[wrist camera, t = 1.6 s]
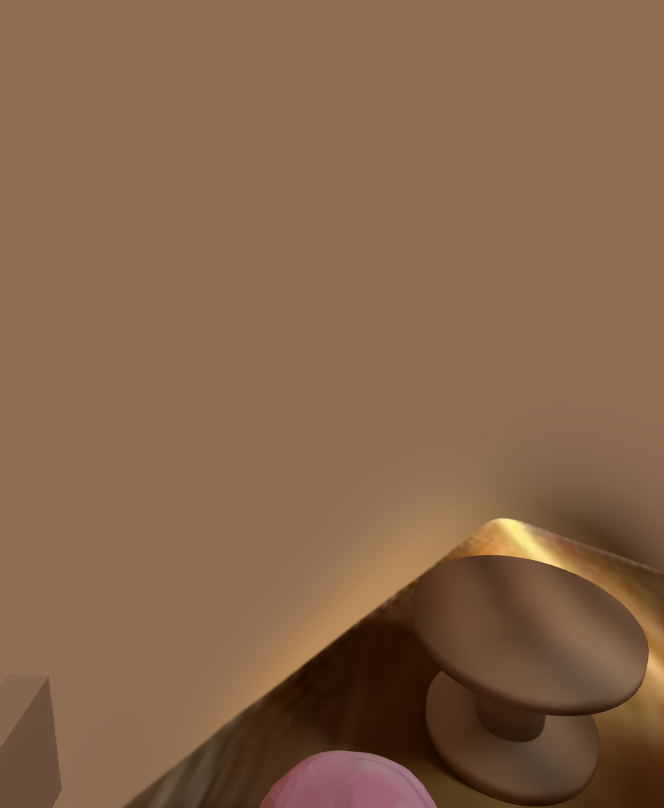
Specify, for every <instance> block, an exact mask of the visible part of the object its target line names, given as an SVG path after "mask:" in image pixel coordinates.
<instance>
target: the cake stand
mask: <svg viewBox="0 0 664 808" xmlns="http://www.w3.org/2000/svg"><path fill="white" fill-rule="evenodd" d="M411 623H412V628H413V632H414V634H415V637H416V639H417V641H418V643H419V645H420V646H421V648H422V649H423V651H424V652H425V653H426V655H427V656H428V657H429V658H430V660H431V661H432V662H433V663H434V664H435V665H436V666H437V667H438V668H439V669H441V670H442V671H441V672H439V673H438V674H437V676H436V677H435V678H434V679H433V681H432V683H431V685H430V687H429V690H428V693H427V699H426V709H425V724H426V730H427V733H428V736H429V739H430V742H431V744H432V745H433V747H434V749H435V751H436V752H437V754H438V755H439V757H440V758H441V760H442V761H443V762H444V763H445V764H446V765H447V767H448V768H449V769H450V770H451V771H453V772H454V773H455V774H456V775H457V776H458V777H459V778H461V779H462V780H463V781H465V782H466V783H467V784H469V785H470V786H472V787H474V788H475V789H477V790H479V791H481V792H483V793H485V794H487V795H489V796H491V797H494V798H496V799H499V800H502V801H505V802H509V803H513V804H518V805H525V806H547V805H554V804H558V803H562V802H565V801H567V800H569V799H571V798H573V797H575V796H576V795H578V794H579V793H581V792H582V791H583V790H584V789H585V788H586V787H587V785H588V784H589V782H590V781H591V779H592V777H593V774H594V771H595V767H596V762H597V757H598V751H599V737H598V732H597V728H596V726H595V723H594V720H593V719H592V717H591V714H596V713H600V712H605V711H607V710H610V709H612V708H615V707H618V706H619V705H621V704H623V703H624V702H626V701H628V700H629V699H630V698H631V697H632V696H633V695H634V694H635V693H636V692H637V691H638V689H639V688H640V686H641V685H642V682H643V679H644V676H645V672H646V668H647V663H648V655H649V649H648V643H647V639H646V637H645V634H644V631H643V630H642V628H641V626H640V625H639V623H638V621H637V620H636V619H635V617H634V616H633V615H632V614H631V612H630V611H629V610H628V609H627V608H626V607H625V606H624V605H623V604H622V603H620V602H619V601H618V600H617V599H616V598H614V597H613V596H612V595H610V594H609V593H608V592H606V591H605V590H603V589H602V588H600V587H599V586H597V585H595V584H594V583H592V582H590V581H588V580H586V579H584V578H582V577H580V576H578V575H576V574H574V573H571V572H569V571H567V570H564V569H561V568H558V567H555V566H553V565H549V564H546V563H542V562H539V561H534V560H530V559H525V558H518V557H511V556H500V555H482V556H470V557H464V558H459V559H454V560H451V561H448V562H445V563H443V564H441V565H439V566H437V567H435V568H433V569H432V570H430V571H429V572H428V573H426V574H425V575H424V576H423V577H422V578H421V580H420V581H419V582H418V583H417V585H416V588H415V590H414V592H413V597H412V606H411Z"/></svg>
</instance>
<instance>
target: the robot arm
mask: <svg viewBox="0 0 664 808" xmlns="http://www.w3.org/2000/svg"><path fill="white" fill-rule="evenodd" d="M61 790H62V788H61V780H60V771H59V762H58V753H57V745H56V736H55V728H54V719H53V711H52V702H51V693H50V685H49V677H43V676H24V675H8V676H7V677H6V679H5V680H4V681H3V683H2V684H1V685H0V808H52V807H53V805H54V803H55V801H56V799H57V797H58V796H59V794H60V792H61Z"/></svg>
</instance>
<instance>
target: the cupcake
mask: <svg viewBox="0 0 664 808" xmlns="http://www.w3.org/2000/svg"><path fill="white" fill-rule="evenodd" d="M259 808H437V807H436V805H435V803H434V802H433V800H432V798H431V796H430V795H429V794H428V792H427V791H426V789H425V787H424V786H423V784H422V783H421V782H420V781H419V780H418V779H417V778H416V777H415V776H414V775H413V774H412V773H411V772H410V771H409V770H408V769H406V768H405V767H403V766H401V765H399V764H397V763H395V762H393V761H391V760H389V759H386V758H384V757H381V756H378V755H374V754H370V753H362V752H350V751H328V752H323V753H319V754H315V755H313V756H310V757H308V758H306V759H305V760H303V761H302V762H300V763H299V764H298V765H296V766H295V767H294V768H292V769H291V770H290V771H289V772H288V773H287V774H285V775H284V776H283V777H282V778H281V779H280V780H278V781H277V782H276V783H275V784H274V785H273V787H272V788H271V789H270V791H269V792H268V794H267V795H266V797H265V798H264V800H263V801H262V803H261V805H260V807H259Z"/></svg>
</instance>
